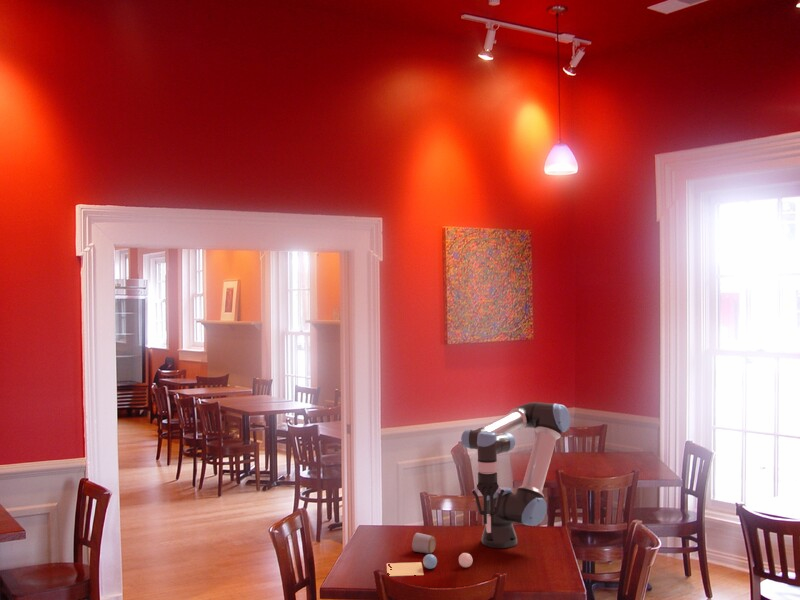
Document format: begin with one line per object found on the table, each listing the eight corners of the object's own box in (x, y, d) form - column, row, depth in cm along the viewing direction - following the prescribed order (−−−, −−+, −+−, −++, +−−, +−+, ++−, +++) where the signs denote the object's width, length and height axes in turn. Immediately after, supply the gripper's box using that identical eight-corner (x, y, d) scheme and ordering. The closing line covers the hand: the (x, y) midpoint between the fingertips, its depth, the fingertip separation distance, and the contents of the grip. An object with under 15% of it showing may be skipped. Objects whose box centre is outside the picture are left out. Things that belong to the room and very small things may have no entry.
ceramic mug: (429, 556, 320) (429, 537, 320) (411, 553, 323) (411, 535, 323) (439, 548, 329) (439, 530, 329) (422, 546, 333) (421, 528, 333)
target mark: (421, 562, 312) (421, 562, 312) (423, 575, 298) (423, 574, 298) (386, 563, 312) (386, 563, 312) (387, 576, 298) (387, 576, 298)
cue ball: (471, 564, 309) (471, 550, 309) (473, 569, 303) (473, 555, 303) (458, 564, 308) (457, 551, 308) (459, 569, 303) (459, 555, 303)
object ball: (436, 565, 308) (436, 551, 308) (437, 570, 303) (437, 556, 303) (422, 566, 308) (422, 552, 308) (423, 571, 302) (423, 557, 302)
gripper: (502, 469, 310) (503, 528, 310) (469, 470, 309) (470, 529, 309) (505, 473, 302) (506, 534, 302) (472, 474, 302) (473, 535, 302)
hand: (488, 531), depth 306 cm, fingers closed
